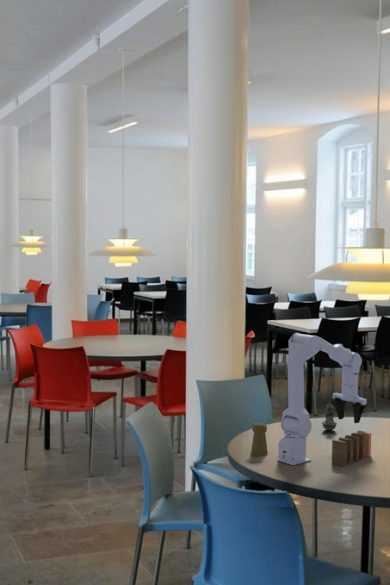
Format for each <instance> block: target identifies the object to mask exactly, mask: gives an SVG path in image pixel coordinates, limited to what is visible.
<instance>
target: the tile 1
mask: <svg viewBox="0 0 390 585" xmlns="http://www.w3.org/2000/svg"><path fill="white" fill-rule="evenodd" d="M331 445H332V446H331V465H334V466H337V467H342V468H345V467H347V464H346V463H347V442H346V441H341V440H339V439H332V440H331Z"/></svg>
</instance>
